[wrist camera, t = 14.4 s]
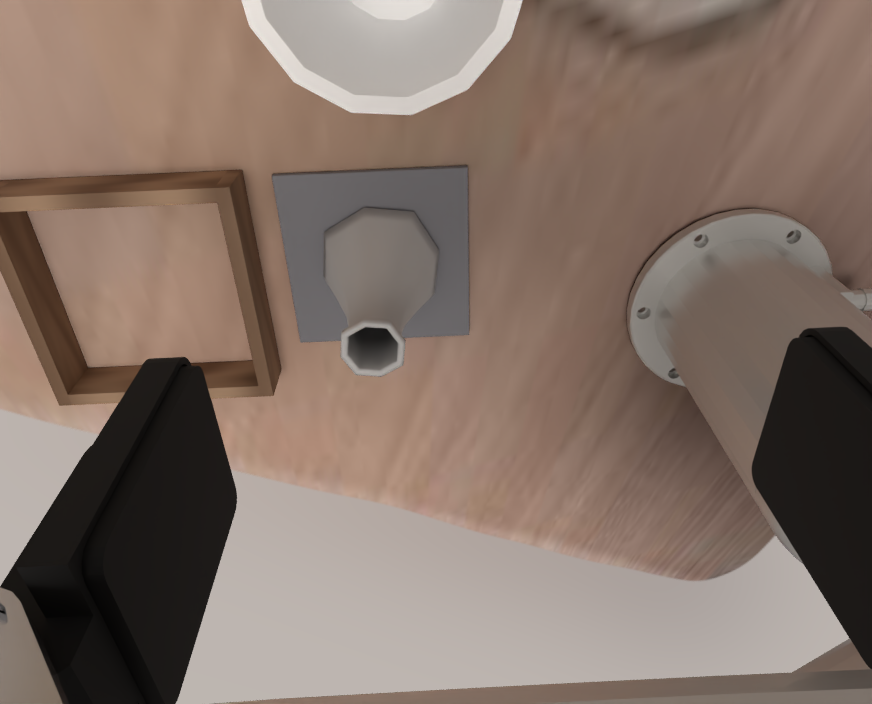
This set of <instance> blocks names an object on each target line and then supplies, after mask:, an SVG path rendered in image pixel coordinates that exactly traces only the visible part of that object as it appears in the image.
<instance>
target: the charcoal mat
mask: <svg viewBox="0 0 872 704" xmlns="http://www.w3.org/2000/svg"><path fill="white" fill-rule="evenodd" d="M272 180H273V186H274V192H275V198H276V203H277V209H278V215H279V221H280V226H281V232H282V238H283V244H284V249H285V255H286V261H287V267H288V272H289V278H290V284H291V290H292V296H293V301H294V307H295V313H296V319H297V324H298V330H299V336H300V342H322V341H341V332H342V330H343V329H345V328H347V327H348V322H347V317H346V315H345V313H344V311H343V310H342V308H341V306H340V304H339V302H338V300H337V298H336V296H335V295H334V293H333V292H332V290H331V289H330V287H329V285H328V284H327V282H326V280H325V278H324V277H323V269H324V232H325V231H327V230H328V229H330V228H332V227H333V226H335V225H337V224H338V223H340V222H341V221H343V220H345V219H346V218H348V217H350V216H351V215H353V214H354V213H356V212H358V211H359V210H361V209H363V208H375V209H387V210H399V211H411V212H414V213H415V214H416V216H417V217H418V219H419V220H420V222H421V223H422V225H423V226H424V228H425V229H426V231H427V233H428V234H429V236H430V237H431V239H432V240H433V242H434V243H435V245H436V246H437V248H438V249H439V259H438V268H437V277H436V286H435V293H434V294H433V296H432V297H431V298H430V299H429V300H428V301H427V302H426V303H425V304H424V305H423V306H422V307H421V308H420V309H419V310H418V311H417V312H416V313H415V314H414V315H413V317H412V318H411V319H410V320H409V321H408V322H407V324H406V325H405V326H404V329H403V331H402V334H401V335H402V336H403V337H404V338H410V337H432V336H455V335H469V260H468V166H467V165H466V166H443V167H420V168H396V169H373V170H350V171H327V172H304V173H281V174H273V175H272Z"/></svg>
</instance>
